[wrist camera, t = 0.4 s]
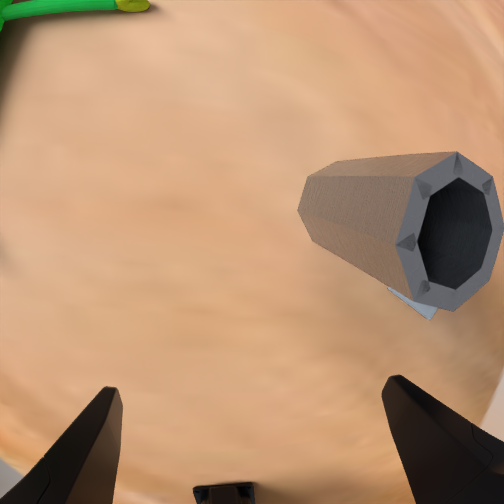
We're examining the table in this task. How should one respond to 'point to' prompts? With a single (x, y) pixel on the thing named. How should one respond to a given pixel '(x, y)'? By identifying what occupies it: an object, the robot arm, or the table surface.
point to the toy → (64, 7)
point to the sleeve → (409, 222)
